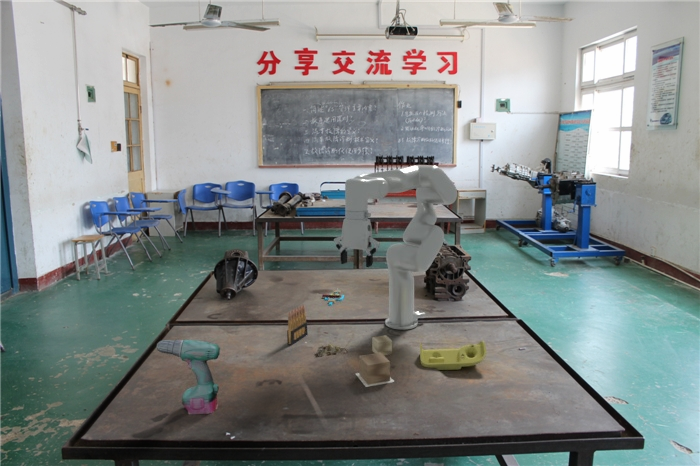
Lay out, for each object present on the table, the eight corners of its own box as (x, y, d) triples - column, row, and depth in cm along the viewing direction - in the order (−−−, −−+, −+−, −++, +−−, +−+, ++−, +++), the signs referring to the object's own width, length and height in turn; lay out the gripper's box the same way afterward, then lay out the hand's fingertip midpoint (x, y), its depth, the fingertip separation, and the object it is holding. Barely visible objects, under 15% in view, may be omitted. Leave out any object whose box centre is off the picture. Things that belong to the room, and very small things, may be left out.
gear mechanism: (317, 306, 227) (339, 306, 225) (317, 294, 226) (338, 294, 224) (327, 292, 246) (347, 292, 245) (327, 281, 245) (346, 281, 244)
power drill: (166, 403, 146) (159, 335, 142) (225, 400, 147) (220, 332, 143) (159, 417, 139) (152, 346, 135) (221, 413, 140) (216, 343, 136)
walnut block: (381, 370, 161) (380, 352, 160) (390, 380, 154) (390, 361, 153) (359, 374, 159) (359, 355, 158) (367, 384, 152) (367, 365, 151)
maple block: (386, 351, 178) (386, 335, 176) (392, 357, 173) (391, 340, 172) (372, 354, 176) (372, 337, 175) (377, 360, 171) (377, 342, 170)
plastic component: (420, 364, 162) (419, 339, 170) (422, 380, 167) (421, 354, 175) (488, 362, 159) (483, 336, 167) (487, 378, 164) (483, 352, 172)
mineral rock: (313, 353, 172) (319, 338, 179) (314, 363, 174) (320, 348, 181) (345, 356, 170) (350, 341, 177) (345, 367, 172) (350, 351, 179)
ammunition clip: (291, 345, 184) (290, 312, 182) (287, 344, 185) (285, 312, 183) (307, 334, 194) (306, 303, 191) (303, 334, 195) (302, 303, 192)
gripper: (384, 215, 176) (384, 265, 179) (339, 212, 184) (340, 259, 187) (374, 218, 169) (374, 270, 172) (328, 215, 178) (329, 264, 181)
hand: (356, 264), depth 180 cm, fingers open, 9 cm apart
